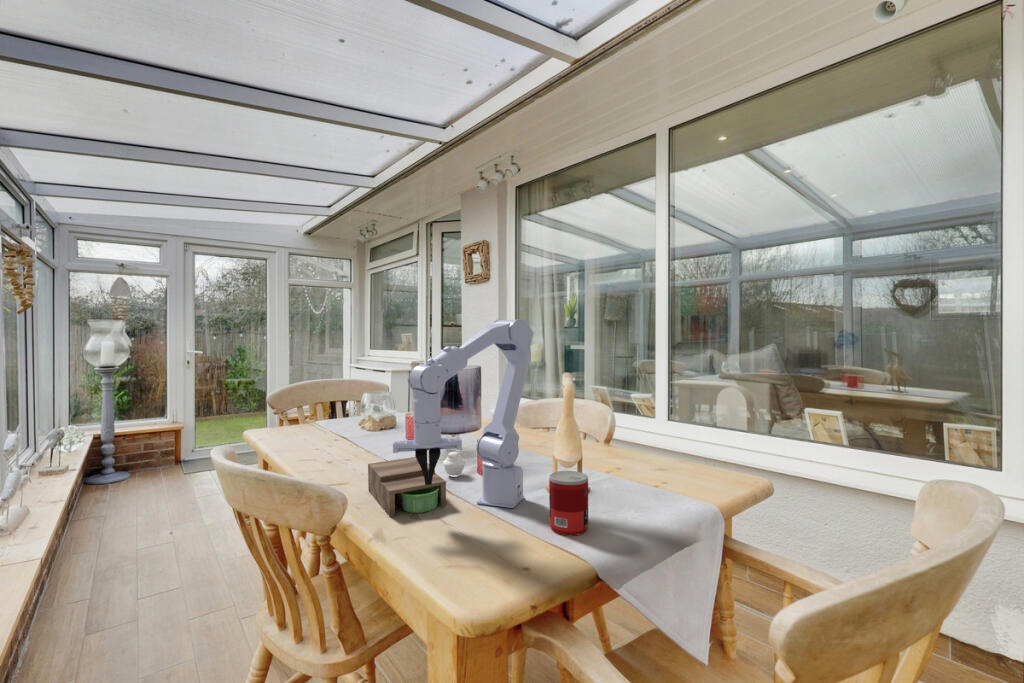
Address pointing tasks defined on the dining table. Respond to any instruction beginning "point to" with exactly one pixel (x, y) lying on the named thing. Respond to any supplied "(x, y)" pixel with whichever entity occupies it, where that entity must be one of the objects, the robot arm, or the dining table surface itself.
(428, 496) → the ramekin
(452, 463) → the white sugar bowl
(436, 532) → the dining table surface
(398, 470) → the walnut shelf
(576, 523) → the canned food
